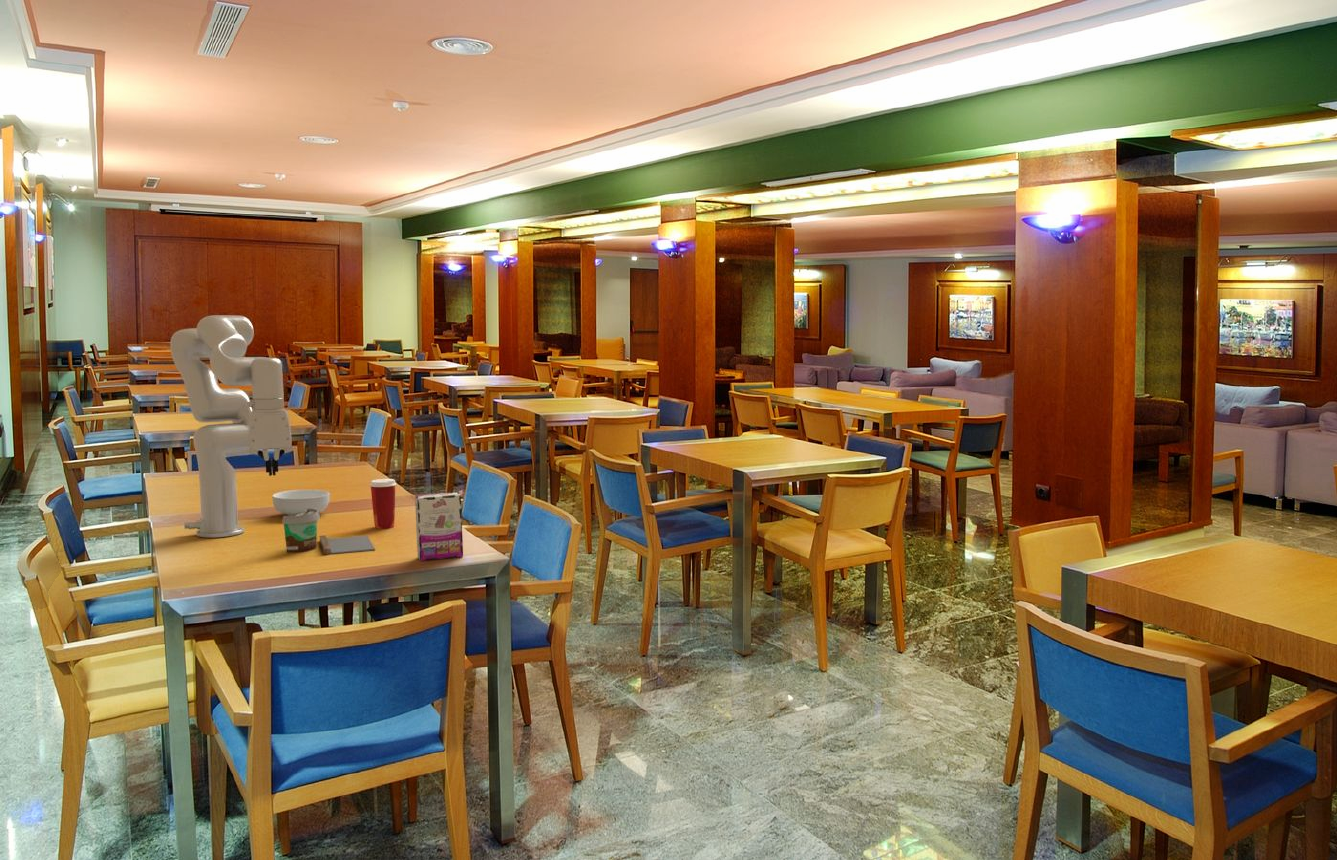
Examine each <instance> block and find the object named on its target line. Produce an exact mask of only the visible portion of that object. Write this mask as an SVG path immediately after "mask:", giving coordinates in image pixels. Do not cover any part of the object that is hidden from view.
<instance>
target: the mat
mask: <svg viewBox="0 0 1337 860" xmlns="http://www.w3.org/2000/svg"><path fill="white" fill-rule="evenodd" d="M327 541H328V544H329V547H330V555H337V554H338V555H339V554H348V553H349V554H351V553H358V552H359V553H361V552H371V551H376V548H375V547H374V545H373V542H372V541H371V540H370V538H369V536H368V535H361V536H348V537H337V538H327Z"/></svg>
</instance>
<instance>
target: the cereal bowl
mask: <svg viewBox="0 0 1337 860" xmlns="http://www.w3.org/2000/svg"><path fill="white" fill-rule="evenodd" d="M330 496H331V495H330V492H329V491H326V490H321V489H292V490H285V491H279V492H276V493H274V494H273V495H272V498H271V499H272V504H273V507H274V509H275V510H276V511H277V512H279V513H280V514H283V515H285V516H293V515H295V514H299V513H305V512H307V508H311V509H316V510H317V511H318V513H320V512H322V511H324V510H325V509H326V508H327V507H328V506H329V503H330V498H331V497H330Z"/></svg>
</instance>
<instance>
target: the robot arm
mask: <svg viewBox="0 0 1337 860" xmlns="http://www.w3.org/2000/svg"><path fill="white" fill-rule="evenodd" d="M254 336H255V330H254V326H253V324H252V322H251V321H250V319H249V318H247V317H246V316H244V315H233V314H232V315H226V314H225V315H224V314H221V315H219V314H215V315H208V316H205V317H203V318H201V319H200V320H199V321H198V323H197V326H196V327H193V328H184V329H180V330H179V329H178V330H177V331H175V332H174V333H173V335H172V336H171V338H170V342H169V343H170V354H171V358H172V361H173V363H174V365H175V367H176V369H177V371H178V372H179V374H180V376H181V378H182V380H183V382H184V387H185V391H186V395H187V398H188V404H189V406H190V407H189V408H190V410H191V415H192V417H193V418H194V419H195V420H196V421H197V422H199V423H216V424H206V425H203V426H200V427H199V428H197V430H195V432H194V433H193V447H194V451H195V455H196V460H197V466H198V467H197V468H198V479H199V498H200V519H199V520H197V519H196V521H184V529H187V530H196V529H197V530H196V532H195V534H196V535H195V536H196V537H200V538H205V539H206V538H213V539H214V538H224V537H232V536H237V535H240V534H243V533H244V532H245V527H244V526H242V525H239V516H238V515H239V514H238V513H239V512H238V496H237V495H238V494H237V479H236V478H237V477H236V474H237V473H236V471H235V468H234V467H233V465H231V463H230V462H229V461H228V460H227V458H230V457H236V456H248V455H256V456H259V457H261V459H263V460H264V462H265V473H268V476H269V477H270V476H271V477H272V476H275V477H276V474H277V473H279V459H280V458H281V457H282V456H283V455H284V454H289V453H291V452H293V450H294V449H293V445H292V429H291V428H292V427H291V421H290V415H289V411H288V410H287V409H285V398H284V395H285V393H284V378H283V376H284V374H283V362H282V361H281V359H279V358H276V357H266V356H245V354H246V352H247V349H248V346H249V345H250V344H251V343H252V341H253V339H254ZM200 358H204V359H205V358H206V359H207V358H209V364H210V366H209V365H208V364H206V363H205V362H203V361H202V360H201V359H200ZM217 380H219V382H221V383H222V384H223V385H225V386H228V387H242V386H243V387H244V386H251V391H252V400H251V399H250V398H249V396H248V394H247V392H246V391H244V390H242V389H240V388H221V387H220V385H219V383H218V381H217ZM221 422H223V423H221ZM224 422H230V423H224ZM231 422H232V423H231ZM268 450H274V451H273V457H272V459H271V456H269V451H268Z"/></svg>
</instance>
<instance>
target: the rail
mask: <svg viewBox="0 0 1337 860" xmlns="http://www.w3.org/2000/svg"><path fill="white" fill-rule="evenodd" d="M327 539H328V538H327V536H326V535H325V534H324V535H319V543H320V546H321V548H322V551H323V555H327V556H328V555H331V552H330V547H329V544H328V541H327Z"/></svg>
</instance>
